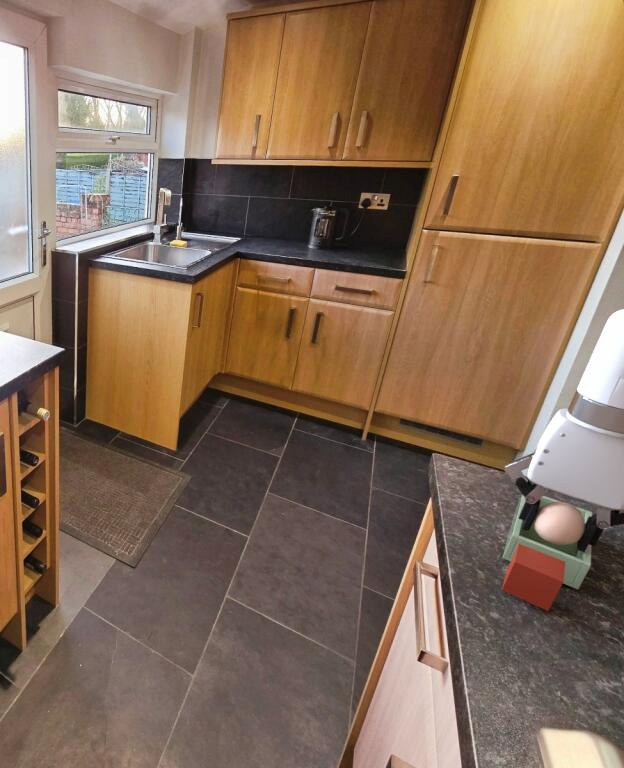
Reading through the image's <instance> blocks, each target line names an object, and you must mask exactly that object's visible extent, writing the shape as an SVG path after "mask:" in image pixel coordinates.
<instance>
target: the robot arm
mask: <svg viewBox="0 0 624 768" xmlns="http://www.w3.org/2000/svg"><path fill="white" fill-rule="evenodd" d="M524 470H527V474H526V475H525V474H524V473H523V472H522V471H524ZM503 471H504V472H505V473H506V474H507V476H508V477H509V478H510V479H511V481H513V482H514V483H515V486H516V487H517V488H518V490H519V492H520V493H521V495H522V494H523V496H524V497H525V503H524V506H523V508H522V510H521V513H520V515H519V519H521V520H524V522H523V527H522V529H524V530H526V531H527V530H529V529H530V527H531V525H532V523H533V521H534V518H535V516H536V514H537V512H538V510H539V506H540V501H541V500H540V498H541V497H542V496H545V495H546V494H547V493H548V492H549V491H554V492H557V493H559V494H562V495H566V496H569V497H571V498H574V499H577V500H581V501H584V502H587V503H589V504H593V505H596V513H592V516H591V517H590V516H589V517H588V519H587V521H586V523H585V526H586V527H585V532H584V534H583V536H582V538H581V539H580V540H578V543H577V549H579V551H582V552H585V550H586V548H587V546H588V545H591V547H596V545H597V544H598V541H599V539H600V537H601V536H602V533H603V532H604V530H608V529H610V528H611V527H615V526H620V525H624V308H622V309H619V310H617V311H615V312H612V314H610V316H609V317H608V319H607V321H606V322H605V325H604V327H603V329H602V331H601V333H600V336H599V338H598V340H597V343H596V344H595V347H594V349H593V352H592V354H591V355H590V358H589V360H588V363H587V365H586V368H585V370H584V372H583V374H582V376H581V378H580V381H579V384H578V385H577V388H576V390H575V393H574V394H573V397H572V398H571V401H570V404H569V406H568V408H560V409H558V411H557V412H556V413H555V414H554V416H553V417H552V419H551V420H550V422H549V423H548V425H547V426H546V428H545V430H544V431H543V433H542V435H541V437H540V439H539V441H538V443H537V445H536V447H535V449H534V451H533V452H532V453H529V454H527V455H524V456H522V457H519V458H517V459H515V460H512V461H510V462H507V463H505V465H504V468H503Z"/></svg>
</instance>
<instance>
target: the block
mask: <svg viewBox="0 0 624 768" xmlns="http://www.w3.org/2000/svg"><path fill="white" fill-rule="evenodd" d="M564 571H565V562H564V561H562V560H559V559H557V558H554V557H552V556H549V555H546V554H544V553H541V552H539V551H536V550H534V549H531V548H529V547H526V546H524V545H521V544H518V547H517V549H516V551H515V553H514V555H513V558H512V560H511V562H510V561H509V565H508V566H507V569H506V571H505V575H504V578H503V582H502V583H503V584H502V587H501V591H503V592H504V593H507V594H509V595H511V596H513V597H515V598H518V599H520V600H522V601H525V602H527V603H529V604H531V605H533V606H536V607H538V608H540V609H543V610H545V611H547V612H549V611H550V609H551V607H552V605H553V604H554V601H555V600H556V597H557V596H558V593H559V592H560V590H561V588H562V586H563V582H564Z"/></svg>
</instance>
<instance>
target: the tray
mask: <svg viewBox="0 0 624 768" xmlns="http://www.w3.org/2000/svg"><path fill="white" fill-rule="evenodd" d="M540 500H541V501H540V506H539V508H540V507H542V506H544V505H546V504H549V503H553V502H561V501H560V500H558V499H555V498H551V497H549V496H545V495H544V496H542V497H541V498H540ZM524 503H525V497H524V496H523V494H522V493H521V495H520V498H519V500H518V503H517V504H516V507H515V511H514V514H513V518H512V521H511V525H510V528H509V531H508V535H507V539H506V542H505V546H504V550H503V554H502V559H503V560H506V561H509V563H510V562H511V560H512V558H513V555H514V553H515V551H516V549H517V547H518V544H521V545H524V546H526V547H529V548H531V549H534V550H536V551H539V552H541V553H544V554H546V555H549V556H552V557H554V558H557V559H559V560H562V561H564V562H565V571H564V582H563V584H564V585H566V586H568V587H571V588H573V589H576V590H579V589H580V588H581V585H582V583H583V582H584V580H585V578H586V576H587V574H588V573H589V571H590V569H591V567H592V545H588V546H587V548H586V550H585V552H582V551H579V549H577V543H578V541H577V542H575V543H573V544H569V545H557V544H553V543H550V542H548V541H546V540H544V539H543V538H541V537H540V536H539V534H538V533H537V532H536V531H535V528H534V526H533V523H532V525H531V527H530V529H529V530H527V531H526V530H524V529H522V527H523V522H524V520H521V519H519V515H520V513H521V510H522V508H523V506H524ZM573 506H574V507H576V508H577V509H578V510H579V511H580V512H581V513H582V515H583V517H584V520H585V523H586V521H587V519H588V517H589V516H590V517H591V516H592V515H593V512H592V511H590V510H587V509H583V508H581V507H577V506H575V505H573ZM563 584H562V585H563Z"/></svg>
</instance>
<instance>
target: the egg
mask: <svg viewBox="0 0 624 768" xmlns="http://www.w3.org/2000/svg"><path fill="white" fill-rule="evenodd" d="M574 506H575V505H573V504H570V503H568V502H563V501H560V502H553V503H549V504H546V505H544V506H542V507H540V508H539V510H538V512H537V514H536V516H535V518H534V521H533V526H534V528H535V531H536V532H537V533H538V534H539V536H540V537H541V538H543V539H544V540H546V541H548V542H550V543H553V544H557V545H569V544H573V543H575V542H577V541H578V540H580V539H581V538H582V536H583V534H584V532H585V527H586V526H585V520H584V517H583V515H582V513H581V512H580V511H579V510H578V509H577V508H576V507H577V506H575V507H574Z"/></svg>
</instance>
